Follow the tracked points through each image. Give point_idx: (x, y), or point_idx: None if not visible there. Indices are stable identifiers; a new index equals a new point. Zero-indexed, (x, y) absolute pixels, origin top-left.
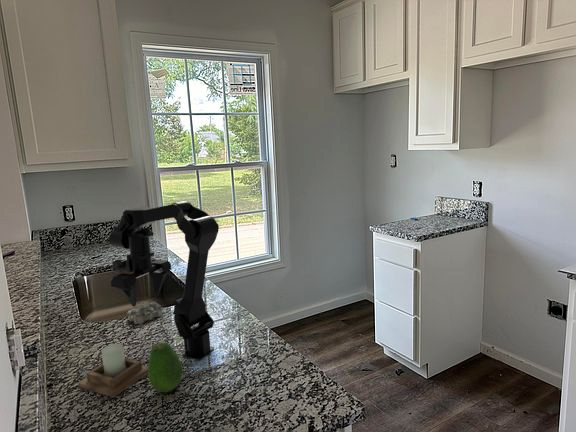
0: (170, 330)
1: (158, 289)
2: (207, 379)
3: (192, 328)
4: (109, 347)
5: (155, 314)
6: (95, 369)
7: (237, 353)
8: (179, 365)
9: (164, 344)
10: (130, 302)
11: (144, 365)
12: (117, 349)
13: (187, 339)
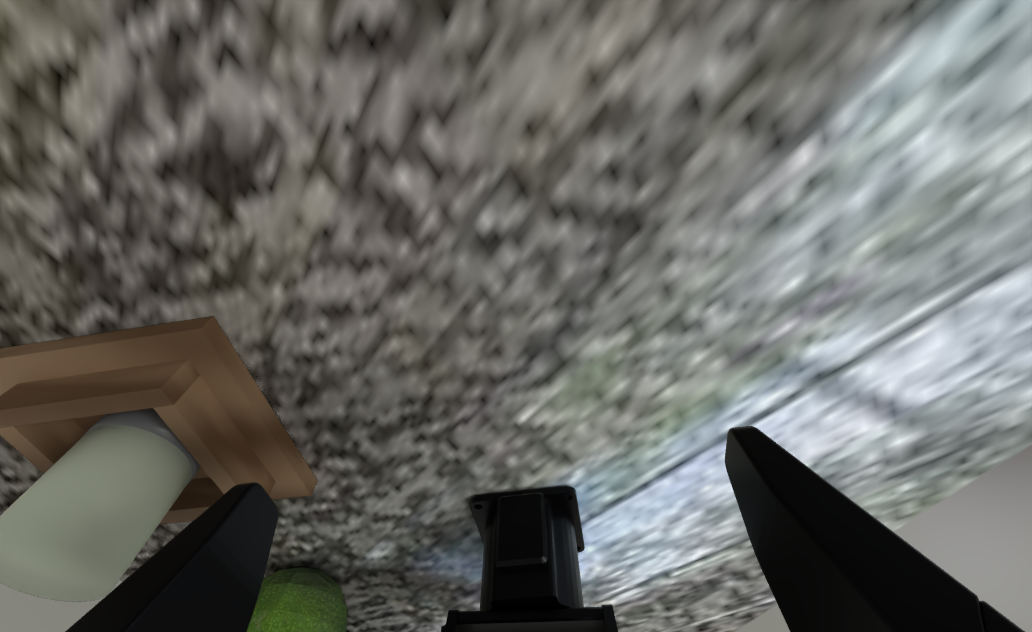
0: (651, 267)
1: (773, 588)
2: (426, 608)
3: (530, 628)
4: (23, 553)
5: None
6: (28, 418)
7: (596, 596)
8: None
9: None
10: (178, 540)
11: (295, 471)
12: (74, 588)
13: (482, 593)
